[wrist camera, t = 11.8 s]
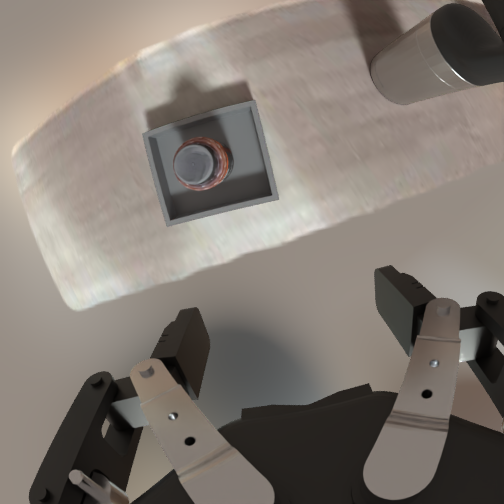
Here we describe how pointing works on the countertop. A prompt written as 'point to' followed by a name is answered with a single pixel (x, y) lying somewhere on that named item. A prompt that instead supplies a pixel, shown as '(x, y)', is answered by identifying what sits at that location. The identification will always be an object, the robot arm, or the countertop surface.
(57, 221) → the countertop surface
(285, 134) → the countertop surface
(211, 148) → the supplement bottle
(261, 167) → the bin
